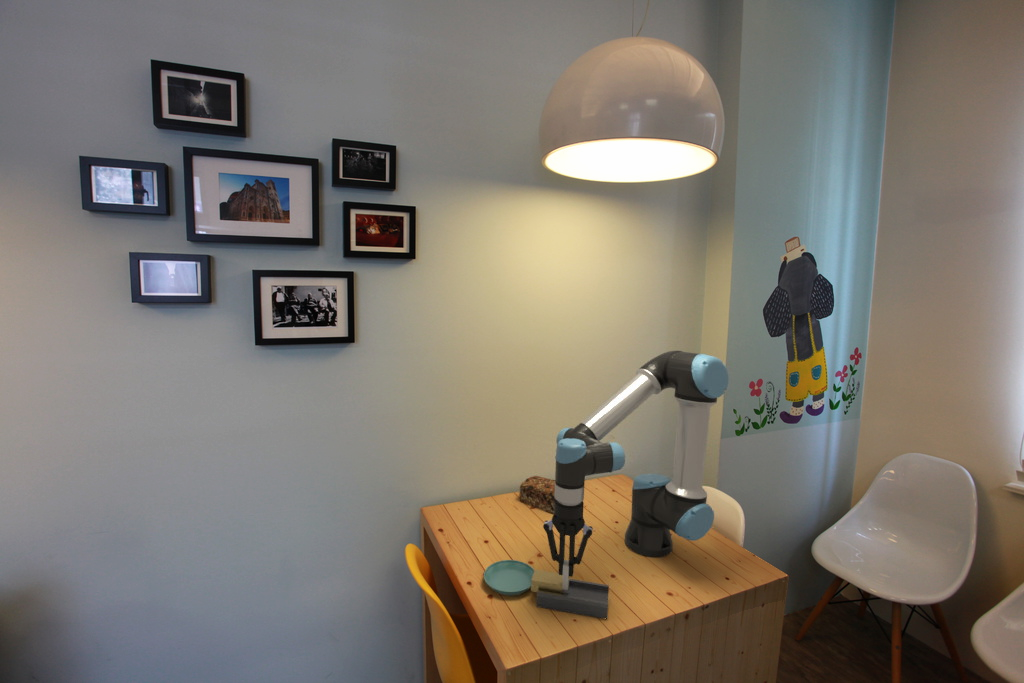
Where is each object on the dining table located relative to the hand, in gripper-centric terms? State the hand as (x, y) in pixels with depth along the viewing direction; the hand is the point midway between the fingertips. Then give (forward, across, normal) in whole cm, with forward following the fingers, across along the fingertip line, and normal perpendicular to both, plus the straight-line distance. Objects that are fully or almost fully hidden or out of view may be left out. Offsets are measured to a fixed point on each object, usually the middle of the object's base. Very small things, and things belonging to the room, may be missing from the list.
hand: (565, 586), depth 120 cm
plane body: (+4, -2, 0) cm, 5 cm away
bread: (+5, +14, -56) cm, 58 cm away
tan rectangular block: (+1, +5, 0) cm, 5 cm away
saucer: (+5, +16, -4) cm, 17 cm away
